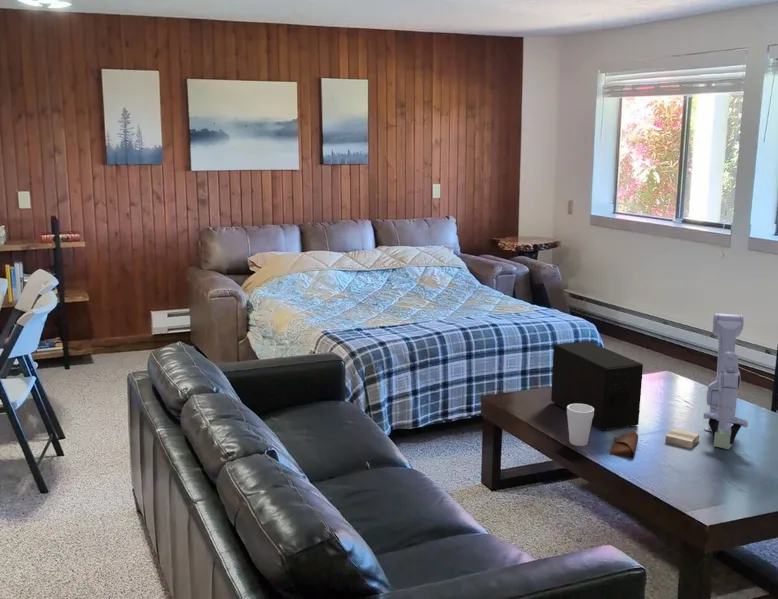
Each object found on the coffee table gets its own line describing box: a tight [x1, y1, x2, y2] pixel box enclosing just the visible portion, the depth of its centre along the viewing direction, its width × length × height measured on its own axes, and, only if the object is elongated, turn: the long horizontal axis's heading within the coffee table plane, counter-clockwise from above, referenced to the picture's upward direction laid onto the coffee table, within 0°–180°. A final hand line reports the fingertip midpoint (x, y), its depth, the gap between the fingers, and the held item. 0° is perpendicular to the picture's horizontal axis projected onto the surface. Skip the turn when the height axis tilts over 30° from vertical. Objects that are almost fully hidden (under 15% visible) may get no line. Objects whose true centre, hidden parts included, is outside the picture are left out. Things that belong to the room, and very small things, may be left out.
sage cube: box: [713, 429, 733, 450], centre depth 280 cm, size 5×5×5 cm
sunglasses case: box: [609, 430, 639, 459], centre depth 279 cm, size 18×7×7 cm
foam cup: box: [566, 404, 594, 447], centre depth 283 cm, size 10×9×13 cm
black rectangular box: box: [550, 341, 644, 431], centre depth 309 cm, size 38×20×25 cm, turn 21°
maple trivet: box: [664, 428, 700, 449], centre depth 285 cm, size 9×9×3 cm
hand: (723, 441), depth 280 cm, fingers closed on sage cube, 5 cm apart
